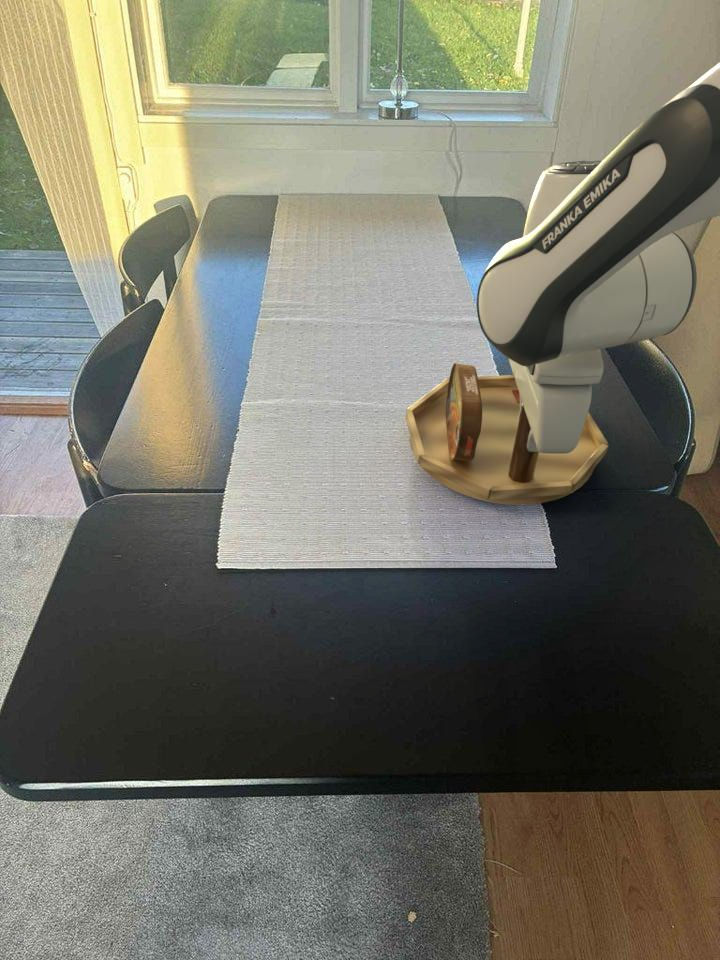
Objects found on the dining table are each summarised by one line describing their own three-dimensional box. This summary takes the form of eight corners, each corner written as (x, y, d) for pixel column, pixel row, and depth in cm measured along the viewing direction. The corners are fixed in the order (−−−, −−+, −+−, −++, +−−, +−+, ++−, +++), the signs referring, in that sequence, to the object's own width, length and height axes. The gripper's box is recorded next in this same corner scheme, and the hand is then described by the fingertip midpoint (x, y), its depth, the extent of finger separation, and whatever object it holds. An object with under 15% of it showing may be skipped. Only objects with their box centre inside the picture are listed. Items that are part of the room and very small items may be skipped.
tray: (626, 498, 83) (653, 421, 76) (428, 511, 81) (436, 434, 74) (560, 387, 101) (576, 317, 94) (396, 396, 99) (400, 324, 92)
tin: (444, 403, 96) (450, 349, 90) (467, 404, 96) (474, 350, 90) (450, 474, 84) (457, 418, 79) (476, 475, 84) (485, 419, 79)
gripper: (505, 284, 80) (490, 387, 89) (540, 378, 64) (517, 493, 73) (560, 284, 80) (539, 388, 89) (609, 379, 64) (577, 493, 73)
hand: (529, 436), depth 81 cm, fingers closed on tray, 3 cm apart
